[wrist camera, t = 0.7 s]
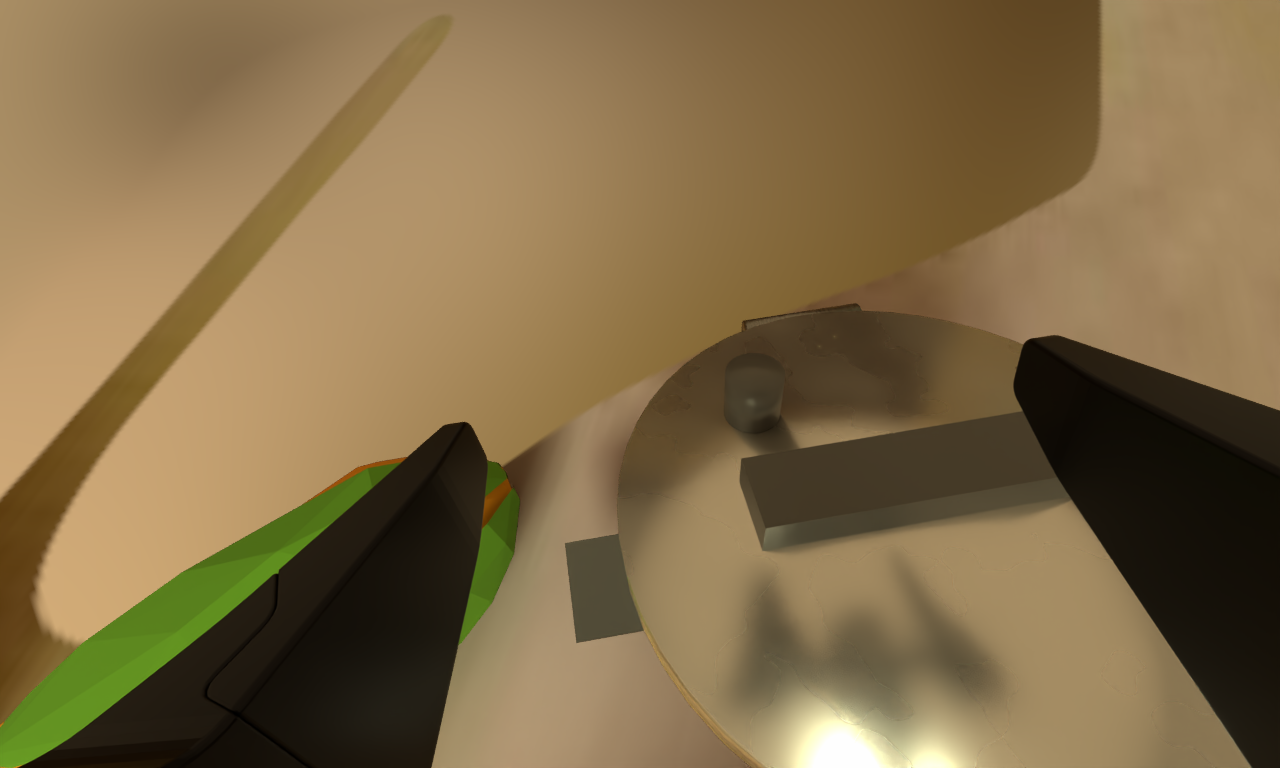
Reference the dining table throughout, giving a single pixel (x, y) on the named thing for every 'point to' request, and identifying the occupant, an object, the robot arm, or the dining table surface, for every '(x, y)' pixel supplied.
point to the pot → (600, 589)
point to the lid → (887, 562)
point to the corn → (221, 610)
